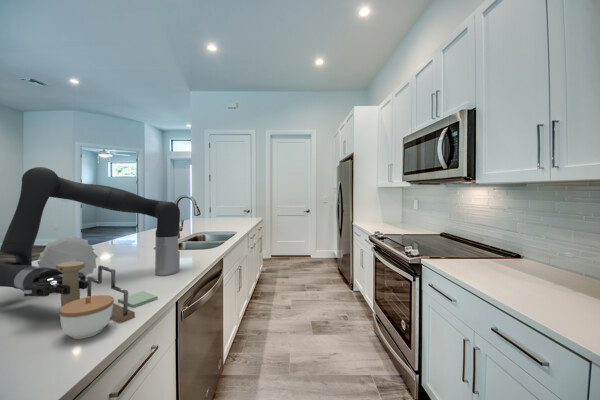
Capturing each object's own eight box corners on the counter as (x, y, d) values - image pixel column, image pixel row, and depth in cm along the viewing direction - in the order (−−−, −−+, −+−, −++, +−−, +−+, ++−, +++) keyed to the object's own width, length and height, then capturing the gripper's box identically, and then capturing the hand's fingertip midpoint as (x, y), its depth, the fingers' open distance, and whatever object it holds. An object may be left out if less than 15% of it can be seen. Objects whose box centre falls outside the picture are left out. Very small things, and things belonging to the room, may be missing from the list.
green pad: (142, 293, 89) (142, 291, 89) (157, 299, 85) (157, 296, 85) (118, 301, 82) (118, 298, 82) (133, 308, 78) (133, 304, 78)
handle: (70, 321, 67) (70, 267, 66) (51, 319, 68) (51, 265, 67) (88, 313, 71) (88, 262, 71) (70, 311, 72) (70, 260, 72)
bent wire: (94, 299, 84) (95, 260, 83) (134, 317, 72) (135, 271, 72) (80, 304, 80) (80, 263, 80) (119, 323, 69) (120, 275, 69)
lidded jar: (93, 344, 59) (94, 305, 59) (46, 345, 58) (46, 306, 58) (122, 321, 70) (122, 289, 70) (82, 322, 69) (82, 289, 69)
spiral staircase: (79, 278, 115) (84, 291, 97) (28, 269, 103) (24, 281, 86) (100, 241, 121) (109, 247, 103) (55, 229, 109) (56, 232, 92)
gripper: (4, 274, 67) (44, 283, 61) (67, 261, 80) (104, 267, 75) (5, 302, 67) (44, 312, 62) (67, 284, 80) (104, 291, 75)
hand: (77, 287), depth 68 cm, fingers closed on handle, 3 cm apart
